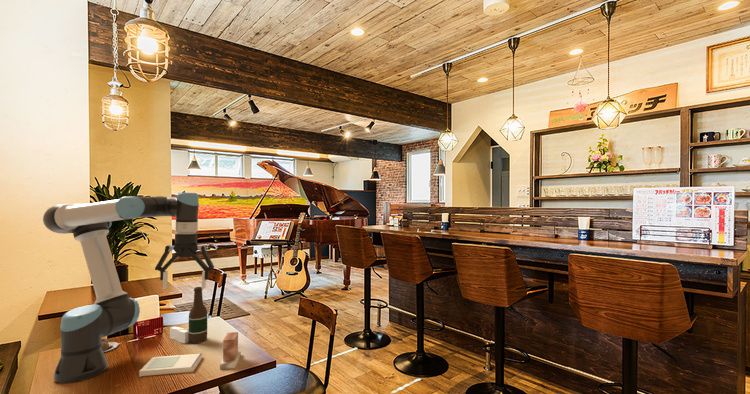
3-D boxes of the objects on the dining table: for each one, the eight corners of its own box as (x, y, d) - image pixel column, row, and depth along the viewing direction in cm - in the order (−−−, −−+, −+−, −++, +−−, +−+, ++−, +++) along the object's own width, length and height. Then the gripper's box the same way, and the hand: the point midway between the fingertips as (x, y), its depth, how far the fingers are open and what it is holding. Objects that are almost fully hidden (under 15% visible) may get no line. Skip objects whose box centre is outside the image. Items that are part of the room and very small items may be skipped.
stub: (219, 369, 136) (219, 342, 136) (226, 355, 148) (226, 331, 148) (235, 368, 137) (235, 341, 137) (240, 354, 149) (240, 330, 149)
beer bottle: (211, 337, 168) (211, 285, 168) (201, 344, 160) (201, 289, 161) (195, 337, 169) (195, 285, 169) (184, 343, 161) (184, 289, 161)
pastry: (77, 357, 148) (78, 346, 148) (91, 346, 160) (91, 335, 160) (112, 353, 152) (112, 342, 152) (122, 343, 163) (122, 332, 163)
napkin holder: (165, 338, 169) (165, 325, 169) (193, 334, 174) (193, 322, 174) (163, 350, 156) (163, 336, 156) (192, 345, 161) (192, 332, 161)
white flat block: (139, 376, 131) (139, 370, 131) (152, 362, 143) (152, 356, 143) (193, 372, 134) (193, 366, 134) (202, 358, 146) (202, 353, 146)
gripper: (146, 233, 133) (144, 291, 133) (219, 234, 138) (217, 290, 138) (154, 231, 141) (152, 286, 141) (223, 232, 146) (221, 285, 146)
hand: (184, 288), depth 140 cm, fingers open, 13 cm apart
